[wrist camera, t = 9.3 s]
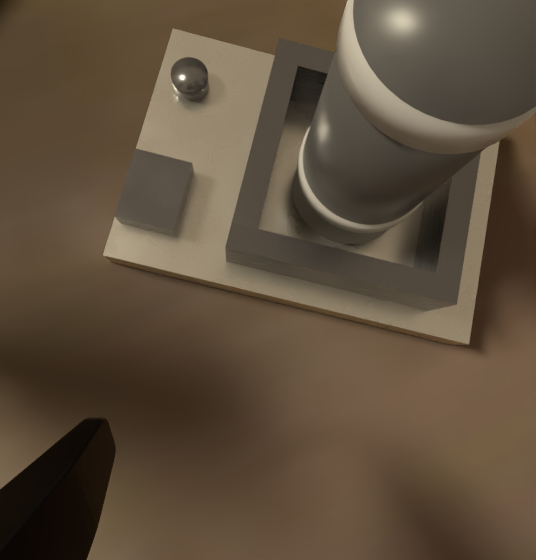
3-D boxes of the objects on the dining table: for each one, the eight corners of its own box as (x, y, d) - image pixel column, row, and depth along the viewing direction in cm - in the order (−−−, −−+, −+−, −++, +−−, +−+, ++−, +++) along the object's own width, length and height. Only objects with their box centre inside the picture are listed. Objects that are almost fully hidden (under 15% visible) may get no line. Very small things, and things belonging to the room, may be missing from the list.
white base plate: (452, 345, 21) (503, 342, 17) (112, 262, 20) (84, 240, 16) (485, 131, 23) (538, 85, 19) (177, 50, 22) (165, -16, 18)
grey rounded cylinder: (423, 222, 20) (645, 63, 9) (317, 263, 19) (424, 144, 9) (376, 120, 21) (531, -137, 10) (272, 157, 20) (318, -78, 9)
